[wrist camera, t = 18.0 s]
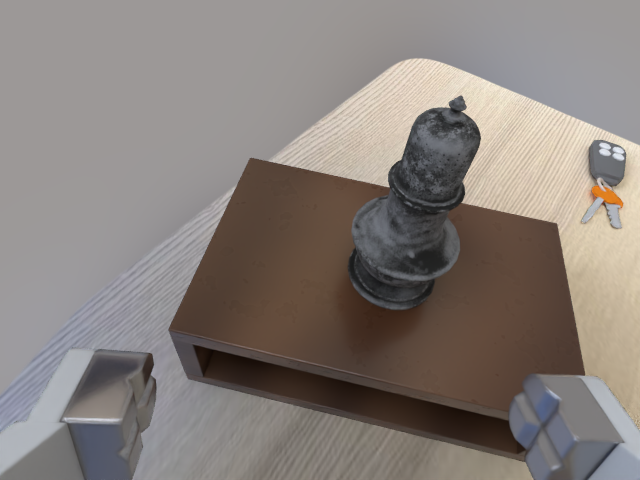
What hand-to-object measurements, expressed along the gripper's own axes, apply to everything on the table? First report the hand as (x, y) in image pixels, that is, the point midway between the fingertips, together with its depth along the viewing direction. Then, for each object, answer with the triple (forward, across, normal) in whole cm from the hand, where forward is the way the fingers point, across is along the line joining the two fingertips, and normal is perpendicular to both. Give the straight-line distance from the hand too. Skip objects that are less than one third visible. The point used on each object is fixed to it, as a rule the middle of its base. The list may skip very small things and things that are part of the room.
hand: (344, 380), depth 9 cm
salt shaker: (+14, +5, -8) cm, 17 cm away
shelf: (+17, +6, -14) cm, 23 cm away
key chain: (+32, +30, -8) cm, 45 cm away
